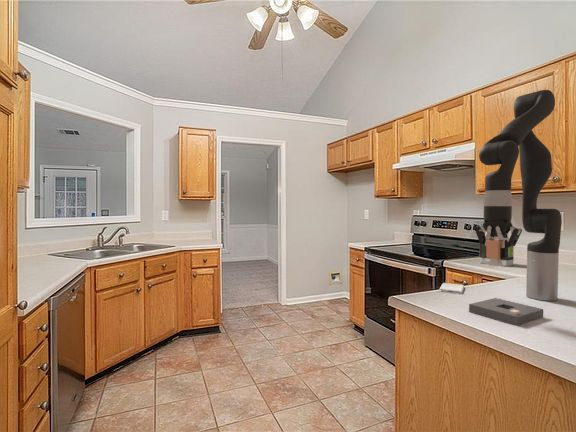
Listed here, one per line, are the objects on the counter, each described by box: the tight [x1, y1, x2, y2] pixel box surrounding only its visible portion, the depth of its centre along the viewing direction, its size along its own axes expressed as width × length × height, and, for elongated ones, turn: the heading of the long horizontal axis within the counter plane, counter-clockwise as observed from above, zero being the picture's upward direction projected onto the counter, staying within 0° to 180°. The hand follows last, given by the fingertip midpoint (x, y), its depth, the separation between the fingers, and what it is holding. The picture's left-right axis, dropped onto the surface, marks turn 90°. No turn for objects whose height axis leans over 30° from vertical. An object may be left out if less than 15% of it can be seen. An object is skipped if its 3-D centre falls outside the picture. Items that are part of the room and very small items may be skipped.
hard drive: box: [438, 282, 465, 295], centre depth 133 cm, size 2×8×12 cm
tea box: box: [479, 238, 515, 267], centre depth 195 cm, size 15×10×15 cm, turn 34°
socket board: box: [468, 297, 544, 327], centre depth 101 cm, size 15×14×3 cm
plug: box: [486, 239, 503, 267], centre depth 104 cm, size 5×4×8 cm
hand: (496, 258), depth 104 cm, fingers closed on plug, 3 cm apart
